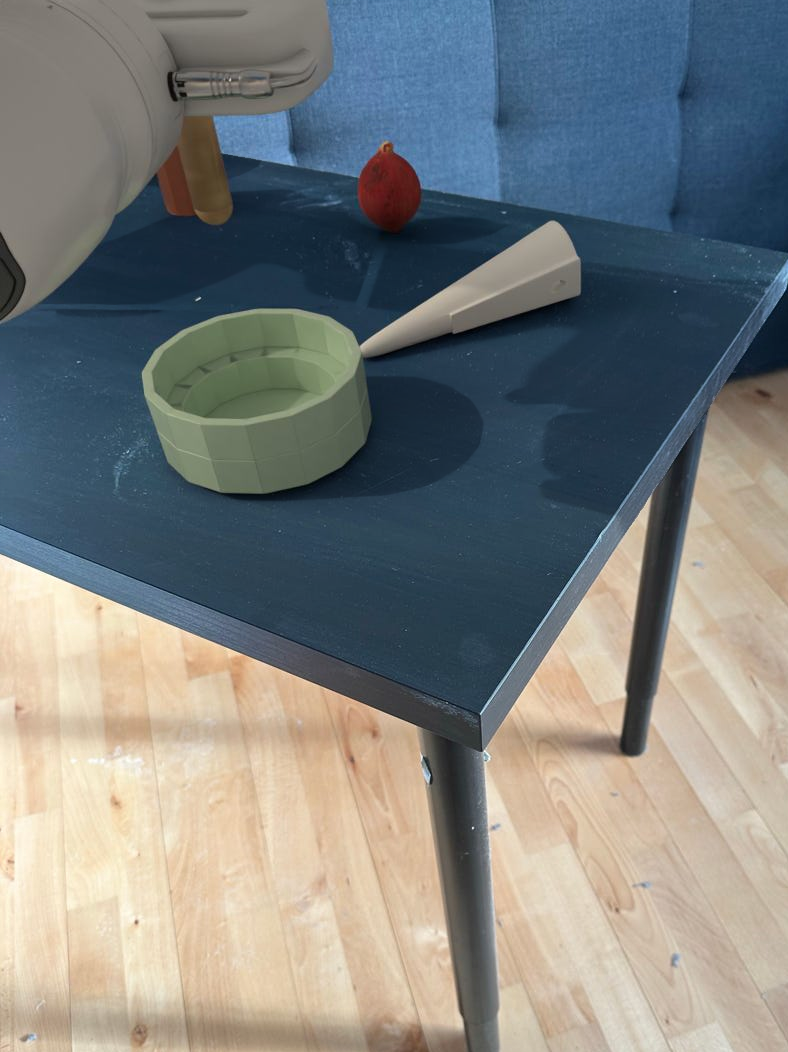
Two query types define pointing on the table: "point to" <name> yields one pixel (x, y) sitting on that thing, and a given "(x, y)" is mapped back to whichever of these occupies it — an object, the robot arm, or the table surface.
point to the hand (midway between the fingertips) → (170, 7)
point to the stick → (205, 169)
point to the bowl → (259, 399)
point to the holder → (175, 186)
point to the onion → (389, 189)
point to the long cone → (491, 291)
